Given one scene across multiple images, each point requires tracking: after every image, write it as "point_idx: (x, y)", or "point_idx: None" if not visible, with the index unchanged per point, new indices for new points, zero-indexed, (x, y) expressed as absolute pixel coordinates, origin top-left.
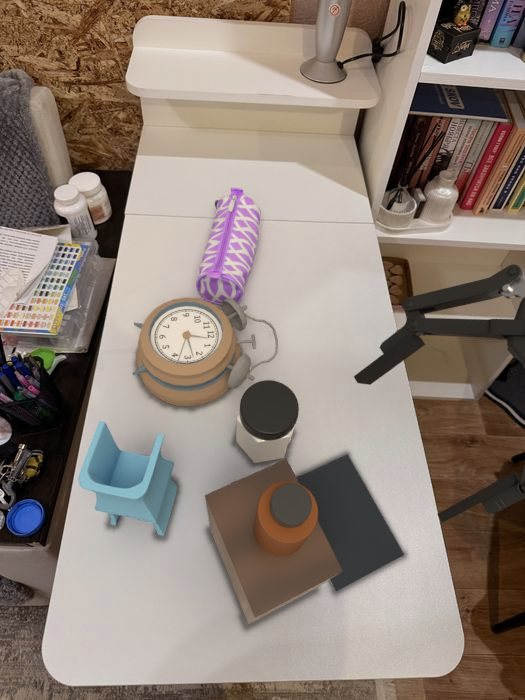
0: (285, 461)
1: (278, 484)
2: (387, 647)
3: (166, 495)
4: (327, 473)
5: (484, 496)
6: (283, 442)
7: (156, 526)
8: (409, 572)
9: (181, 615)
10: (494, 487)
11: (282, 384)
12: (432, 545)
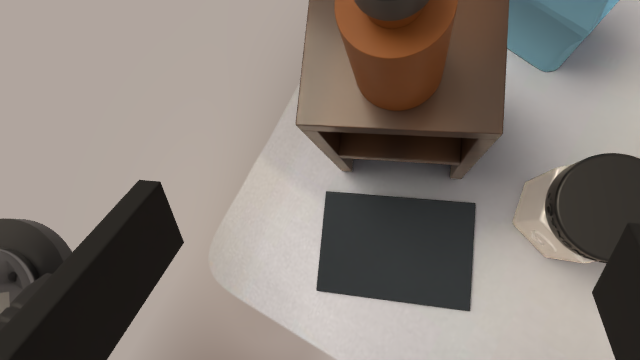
0: (498, 129)
1: (452, 4)
2: (252, 210)
3: (540, 36)
4: (458, 266)
5: (52, 282)
6: (535, 212)
7: None
8: (298, 283)
9: None
10: (29, 322)
11: None
12: (307, 331)
